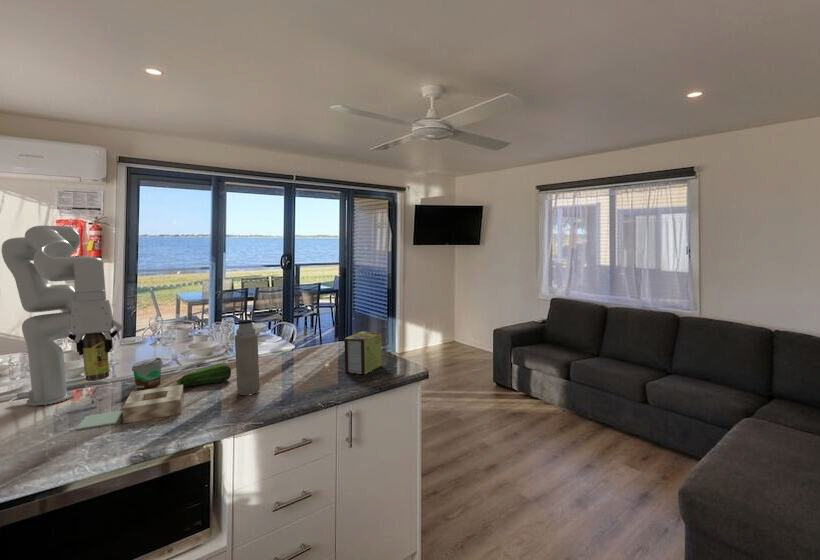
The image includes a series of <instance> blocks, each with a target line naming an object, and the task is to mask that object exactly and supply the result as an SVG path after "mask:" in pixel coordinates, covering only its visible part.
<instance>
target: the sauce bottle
mask: <svg viewBox="0 0 820 560" xmlns="http://www.w3.org/2000/svg"><path fill="white" fill-rule="evenodd" d="M105 341H106V336H105V335H104V333H103V332H102V333H91V334H84V335H83V338H82V344H83V355H82V358H83V367H84V369H83V370H84V376H85V380H86V381H87V382H94V381H95V382H96V381H100V380H101V381H102V380H104V379H107V378H109V377H110V360H109V352H106V345H105Z"/></svg>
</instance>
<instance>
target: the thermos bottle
mask: <svg viewBox="0 0 820 560" xmlns="http://www.w3.org/2000/svg"><path fill="white" fill-rule="evenodd" d="M258 338H259V337H258V333H256V328H255V327H254V325H253V320H252V319H240V320H238V328H237V329H236V332H235V335H234V349H235V350H234V352H235V373H236V375H235V376H236V390H237V391H236V392H237V393H238V394H240V395H249V394H254V393H257V392H258V391H259V390H260V391H261V389H260V388H261V387H260V369H259V368H260V367H259V343H258V341H259V340H258ZM260 391H259V392H260ZM259 392H258V393H259ZM258 393H257V394H258ZM238 394H237V395H238ZM240 395H239V396H240ZM254 395H255V394H254Z"/></svg>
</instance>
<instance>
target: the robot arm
mask: <svg viewBox="0 0 820 560" xmlns="http://www.w3.org/2000/svg"><path fill="white" fill-rule="evenodd" d="M80 244H81V236H80V234H79V232H78V231H77V229H75V228H74V227H71V226H67V225H36V226H32V227H29V228H28V229H27V230H26V231H25V233H24V236H23V237H22V236H21V237H11V238H8V239H6V240H4V242H3V243H2V244H1V257H2V259H3V262H4V264H5V265H6V267H7V268H8V270H9V271H10V273H11V274H12V276H13V278H14V281H15V284H16V288H17V293H18V297H19V299H20V300H19V301H20V303H21V306H22V308H23V310H24V311H25V312H27V313H32V314H33V313H45V312H53V311H54V313H46V314H38V315H33V316H30V317H28V318H26V319H25V320H24V321H23V322H22V325H21V331H22V335H23V338H24V340H25V344H26V348H27V356H28V365H29V366H28V367H29V377H30V386H31V389H30V390H28V391H21V392H17V393H16V398H17V399H18V400H23V399H28V400H26V405H27V404H28V405H27V406H29V405H44V406H48V405H47V404H50V405H53V404H52V403H55V404H57V402H58V403H61V401H62V402H64V401H67V400H69V399H70V398H72V397H73V394H74V393H73V391H70V390H67V388H68V387H67V386H68V385H67V378H66V377H67V376H66V365H65V356H64V355H65V353H64V350H63V348H62V347H61V346H60V345H59V344H57V343H56V342H54V341H55V340H58V339H59V340H60V339H65V338H66V339H67V338H68V339H70V340H72V341H73V342H74V343H76V345H75V347H76V352H77V353H78V355H79V356H83V344H82V340H83V338H84V336H85V334H91V333H103V334H104V335H105V336H106V341H105V345H106V352H108V353H110V352H111V351H112V350H113V348H114V346H113V345H114V344H113V343H114V342H113V338H114V337H115V336H116V335H117V334H119V332H121V331H122V330H123V328H124V327H125V326H124V325H122V324H121V323H120V322H118V321H117V320H115V319H114V316H113V311H112V307H111V303H110V299H107V294H106V293H107V292H106V281H105V279H106V278H105V267H104V266H105V265H104V261H103V259H102V258H100V257H92V256H72V253H74V252H75V251H76V250H77V249H78V248H79V246H80ZM67 281H73V282H74V286H72V285H69V284H53V285H52V284H50V283H49V282H67ZM55 311H62V312H55ZM114 327H115V329H114V330H113V331H111V330H112V329H113V328H114ZM66 399H67V400H66Z"/></svg>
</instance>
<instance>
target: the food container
mask: <svg viewBox="0 0 820 560" xmlns="http://www.w3.org/2000/svg"><path fill="white" fill-rule="evenodd" d="M163 365H164V364H163V359H162V358H160V357H155V359H154V360H152V361H146V362H143V363H141V364H139V365H132V367H131V372H133V377H134V381H135V382H134V385H135V388H136V389H138V390H137V391H141V389H144V390H148V389H149V388H150V389H154V388H156V386H157V387H158V385H159V386H161V384H162V383H161V382H162V381H161V375H162V366H163ZM153 387H154V388H153Z"/></svg>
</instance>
